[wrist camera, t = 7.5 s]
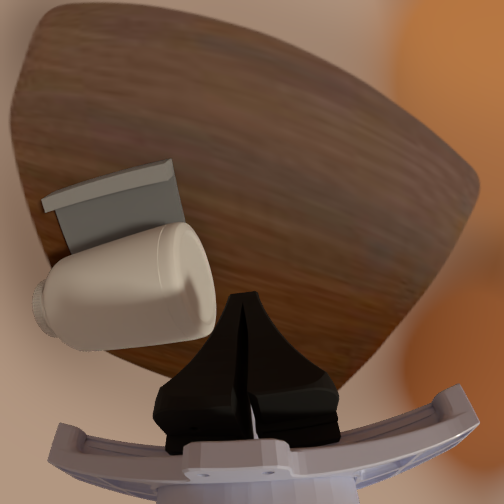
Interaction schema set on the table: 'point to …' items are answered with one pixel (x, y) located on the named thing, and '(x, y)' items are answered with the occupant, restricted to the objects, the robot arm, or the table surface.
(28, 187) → the table surface
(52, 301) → the pill bottle
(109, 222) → the grey tray
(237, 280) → the table surface
